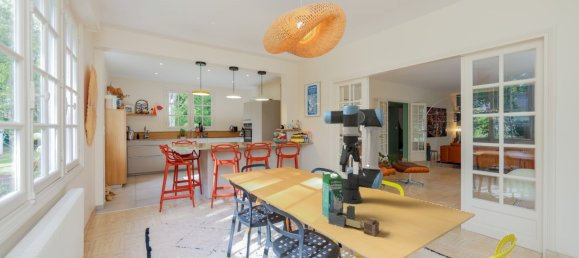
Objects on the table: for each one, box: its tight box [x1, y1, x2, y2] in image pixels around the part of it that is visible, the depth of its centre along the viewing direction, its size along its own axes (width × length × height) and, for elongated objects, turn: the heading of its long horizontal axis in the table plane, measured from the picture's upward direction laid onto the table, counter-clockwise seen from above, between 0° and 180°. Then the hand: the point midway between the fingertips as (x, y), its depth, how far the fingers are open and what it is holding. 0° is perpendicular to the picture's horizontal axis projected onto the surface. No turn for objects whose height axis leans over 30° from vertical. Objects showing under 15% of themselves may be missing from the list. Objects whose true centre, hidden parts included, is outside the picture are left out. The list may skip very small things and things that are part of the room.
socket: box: [363, 217, 380, 237], centre depth 117 cm, size 6×5×6 cm
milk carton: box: [321, 171, 344, 221], centre depth 138 cm, size 9×9×25 cm
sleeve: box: [328, 209, 348, 228], centre depth 128 cm, size 6×9×6 cm
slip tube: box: [338, 205, 364, 229], centre depth 125 cm, size 3×17×9 cm, turn 52°
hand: (350, 176), depth 123 cm, fingers open, 13 cm apart
